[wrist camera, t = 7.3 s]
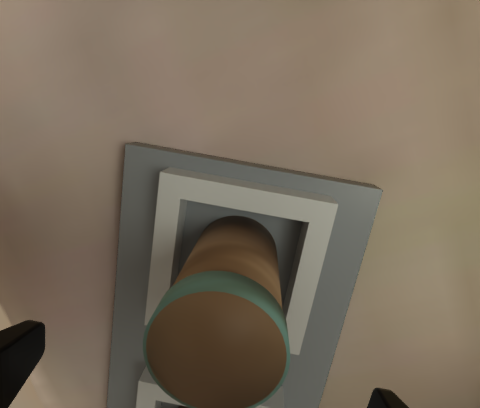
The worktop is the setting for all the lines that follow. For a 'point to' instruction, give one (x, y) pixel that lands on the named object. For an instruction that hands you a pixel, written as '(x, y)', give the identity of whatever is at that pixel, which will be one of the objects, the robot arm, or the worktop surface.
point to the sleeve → (222, 321)
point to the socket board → (287, 244)
